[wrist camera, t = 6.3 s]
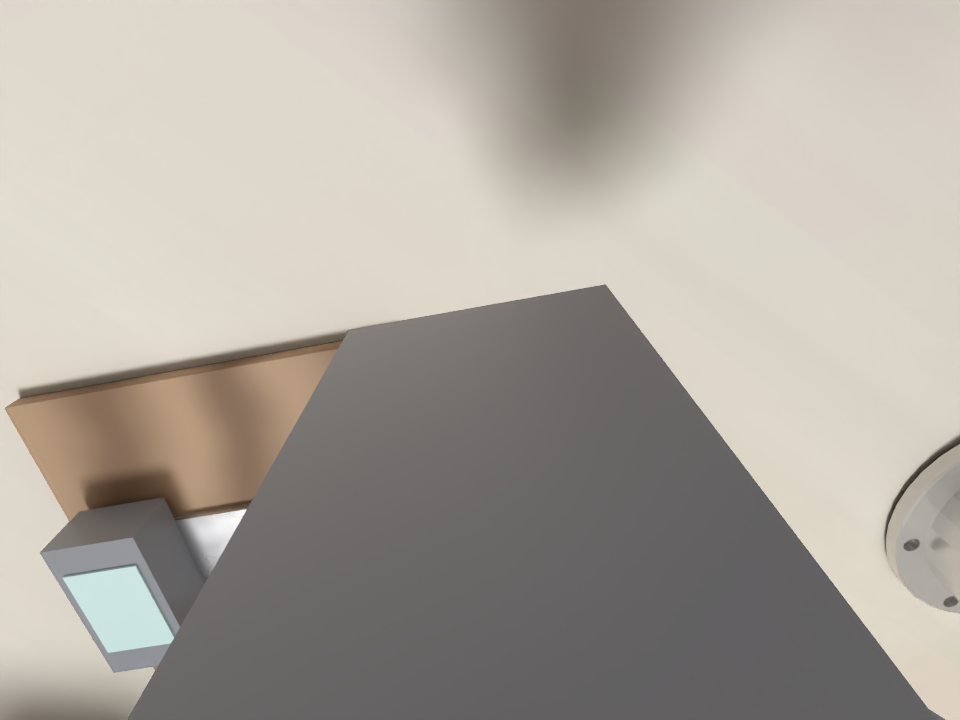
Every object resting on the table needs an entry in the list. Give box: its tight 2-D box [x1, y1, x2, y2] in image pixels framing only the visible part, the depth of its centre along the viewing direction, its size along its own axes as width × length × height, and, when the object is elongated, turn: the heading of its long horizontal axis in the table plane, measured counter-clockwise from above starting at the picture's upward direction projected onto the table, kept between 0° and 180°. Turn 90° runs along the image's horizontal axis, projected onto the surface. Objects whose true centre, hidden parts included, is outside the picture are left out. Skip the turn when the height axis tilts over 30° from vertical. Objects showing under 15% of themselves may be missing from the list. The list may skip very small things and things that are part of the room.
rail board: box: [5, 341, 342, 672], centre depth 30 cm, size 19×20×5 cm
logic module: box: [128, 285, 936, 720], centre depth 7 cm, size 4×8×9 cm, turn 10°
